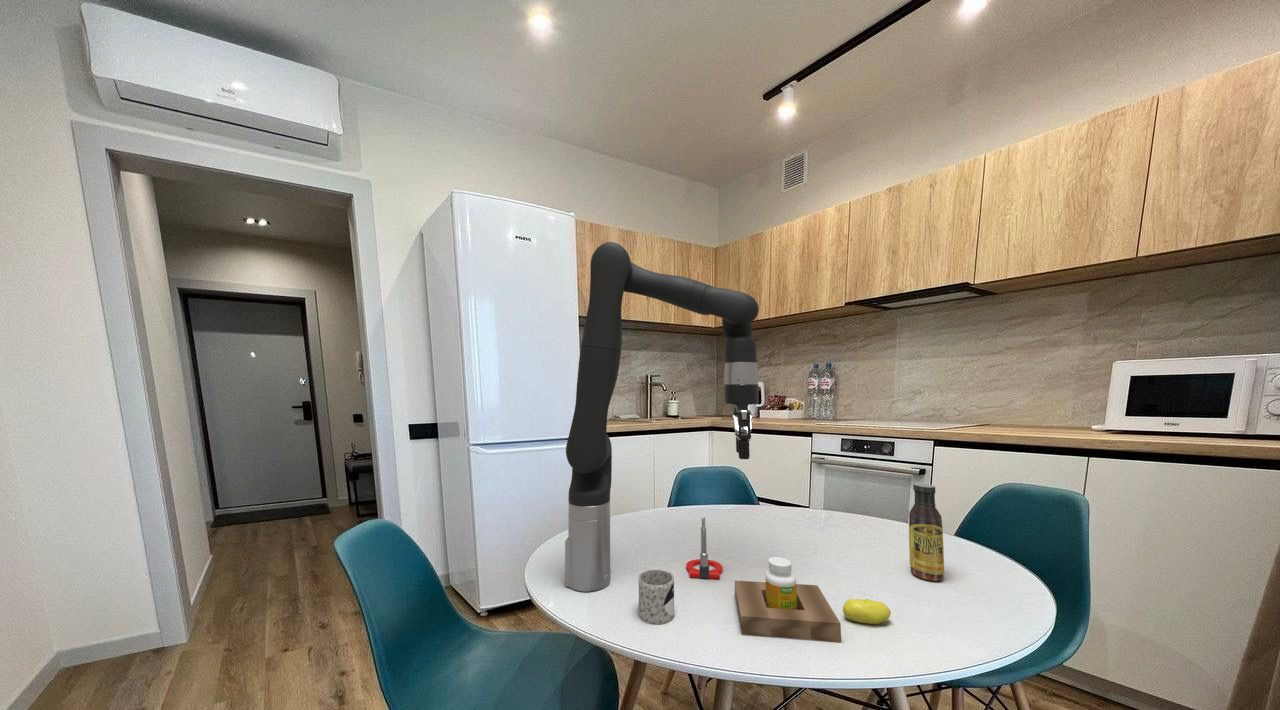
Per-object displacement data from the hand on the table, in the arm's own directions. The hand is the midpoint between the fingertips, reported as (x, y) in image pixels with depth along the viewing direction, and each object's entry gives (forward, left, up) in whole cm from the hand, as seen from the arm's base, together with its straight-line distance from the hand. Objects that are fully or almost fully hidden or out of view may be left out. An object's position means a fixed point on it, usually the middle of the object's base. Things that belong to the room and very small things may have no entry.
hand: (742, 455), depth 89 cm
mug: (-18, -13, -27) cm, 35 cm away
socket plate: (+5, -13, -27) cm, 30 cm away
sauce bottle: (+40, +8, -27) cm, 49 cm away
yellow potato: (+20, -12, -27) cm, 36 cm away
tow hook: (-9, +5, -27) cm, 29 cm away
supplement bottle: (+5, -13, -27) cm, 30 cm away
